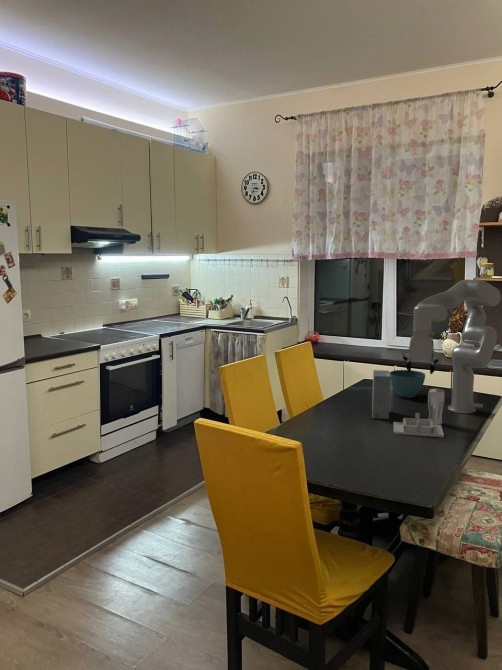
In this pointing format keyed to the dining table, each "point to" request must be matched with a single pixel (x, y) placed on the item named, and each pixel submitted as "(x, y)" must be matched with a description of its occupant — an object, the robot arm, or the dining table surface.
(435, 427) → the tray
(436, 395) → the beer glass
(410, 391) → the teal bowl
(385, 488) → the dining table surface
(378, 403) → the hard drive box
